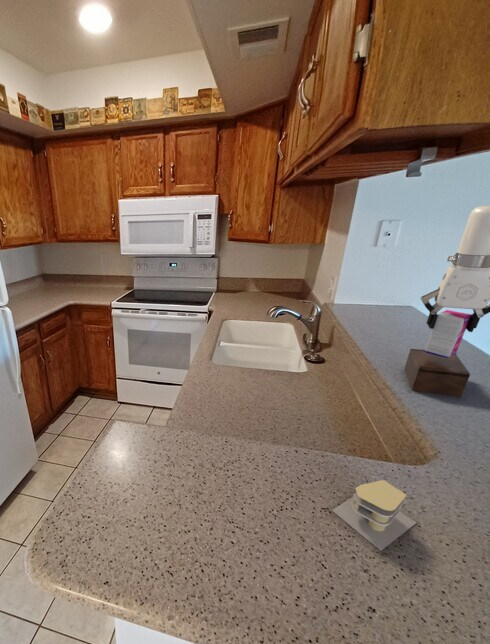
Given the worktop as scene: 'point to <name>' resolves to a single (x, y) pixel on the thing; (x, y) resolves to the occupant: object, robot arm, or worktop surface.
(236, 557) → the worktop surface
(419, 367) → the dark wooden box
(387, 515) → the stacked layers on plate
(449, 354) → the supplement box
